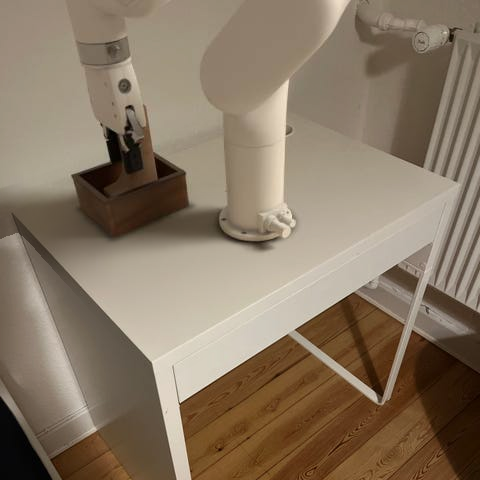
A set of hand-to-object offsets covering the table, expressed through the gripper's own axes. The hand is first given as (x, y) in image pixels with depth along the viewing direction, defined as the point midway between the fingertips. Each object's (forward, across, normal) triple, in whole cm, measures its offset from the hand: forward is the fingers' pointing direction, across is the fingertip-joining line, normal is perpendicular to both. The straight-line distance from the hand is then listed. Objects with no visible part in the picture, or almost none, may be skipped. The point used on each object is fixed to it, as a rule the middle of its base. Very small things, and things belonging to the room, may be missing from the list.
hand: (126, 164), depth 87 cm
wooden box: (+8, 0, 0) cm, 8 cm away
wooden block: (+9, 0, 0) cm, 9 cm away
